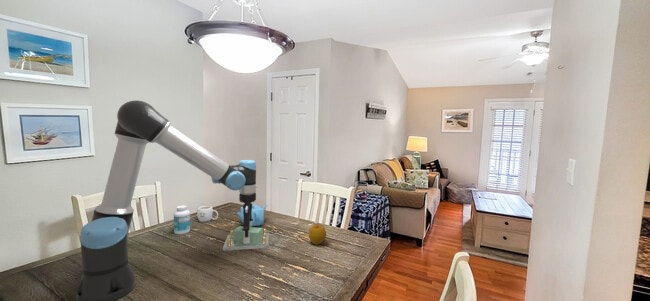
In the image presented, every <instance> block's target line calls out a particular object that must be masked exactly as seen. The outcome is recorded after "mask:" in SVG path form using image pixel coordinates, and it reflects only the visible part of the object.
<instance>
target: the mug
mask: <svg viewBox="0 0 650 301" xmlns="http://www.w3.org/2000/svg"><path fill="white" fill-rule="evenodd" d="M196 210H197V211H196V213H197V214H196V215H197V219H198V221H199V222H203V223H206V222H209V221H211V220H217V219H218V218H219V212H218V211H217V210H215V209H213V206H212V205H202V206H201V205H200V206H199V207H197V209H196ZM214 213H216V217H215V218H214V217H213V215H214Z"/></svg>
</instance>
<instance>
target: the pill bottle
mask: <svg viewBox="0 0 650 301" xmlns="http://www.w3.org/2000/svg"><path fill="white" fill-rule="evenodd" d="M190 231H191V211H190V210H189V209H188V206H187V205H178V206H176V211H174V213H173V233H174V235H175V234H176V235H185V234H188V233H189V232H190Z"/></svg>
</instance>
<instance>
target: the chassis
mask: <svg viewBox="0 0 650 301" xmlns="http://www.w3.org/2000/svg"><path fill="white" fill-rule="evenodd" d="M229 230H230V233H229V234H228V235H226V239H225V242H224V244H223V247H222V251H223V252H224V251H238V250H256V249H259V248H260V249H269V247H270V232H267V228H263V237H262V239H261V240H260V241H259V243H250V244H244V242H238V241H233V231H234V230H235V229H229Z"/></svg>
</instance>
